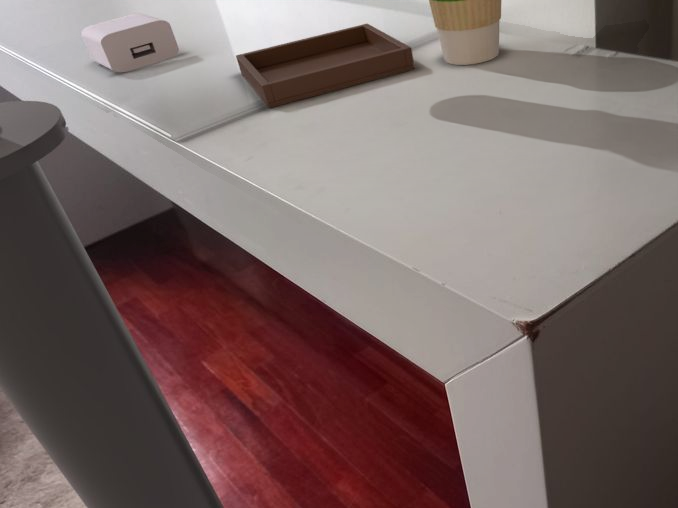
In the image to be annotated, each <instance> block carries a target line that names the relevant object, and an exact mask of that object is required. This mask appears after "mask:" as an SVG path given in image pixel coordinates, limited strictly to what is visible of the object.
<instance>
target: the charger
mask: <svg viewBox="0 0 678 508" xmlns="http://www.w3.org/2000/svg"><path fill="white" fill-rule="evenodd" d="M80 34H81V35H80V36H81V38H82V40H83V42H84V44H85V47H86V49H87V52H88V53H89V56H90V58H91V60H92V61H94V62H95V63H97V64H99V65H101V66H103V67H105V68H107V69H109V70H112V71H113V72H114V73H127V72H130V71H134V70H136V69H137V70H138V69H141V68H143V67H147V66H151V65H153V64H156V63H157V64H158V63H160V62H163V61H166V60H170V59H172V58H174V57H175V56H177V55H178V54H179V52H180V48H179V45H178V42H177V40H176V37H175V34H174V31H173V28H172V25H171V23H170V22H169V21H166V20H164V19H160V18H158V17H154V16H151V15H147V14H144V13H138V12H137V13H131V14H128V15H124V16H121V17H116V18H113V19H109V20H105V21H102V22H97V23H94V24H91V25H87V26H86V27H84V28H83V29H82V30H81V33H80Z"/></svg>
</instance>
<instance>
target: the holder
mask: <svg viewBox="0 0 678 508" xmlns="http://www.w3.org/2000/svg"><path fill="white" fill-rule="evenodd" d="M235 59H236V61H237V64H238V67H239V71H240V74H241V76H242V77H243V78H244V79H245V81H246V82H247V83H248V85H249V86H250V87H251V88H252V89H253V90H254V92H255V93H256V95H258V97H259V98H260V99H261V100H262V102H263V103H264V104H265V105H266V107H268V108H269V109H271V108H275V107H278V106H279V107H280V106H282V105H286V104H290V103H294V102H298V101H301V100H305V99H309V98H312V97H316V96H320V95H323V94H327V93H332V92H335V91H339V90H342V89H345V88H349V87H352V86H357V85H360V84H364V83H367V82H372V81H375V80H378V79H383V78H387V77H390V76H394V75H398V74H402V73H405V72H408V71H413V70H415V68H416V67H415V62H414V55H413V50H412V47H411V46H409V45H408V44H406V43H404V42H402V41H400V40H398V39H397V38H395V37H393V36H391V35H389V34H387V33H385V32H384V31H382V30H380V29H378V28H377V27H374V26H373V25H371V24H369V23H364V24H359V25H355V26H351V27H347V28H343V29H338V30H335V31H330V32H327V33H323V34H319V35H318V34H317V35H314V36H309V37H305V38H302V39H298V40H294V41H289V42H285V43H281V44H277V45H273V46H269V47H265V48H261V49H257V50H252V51H248V52H245V53H240V54H236V55H235Z"/></svg>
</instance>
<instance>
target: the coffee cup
mask: <svg viewBox="0 0 678 508" xmlns="http://www.w3.org/2000/svg"><path fill="white" fill-rule="evenodd" d="M428 2H429V7H430V10H431V15H432V18H433V23H434V27H435V28H436V30H437V34H438V35H437V36H438V39H439V42H440V46H441V52H442V56H443V60H444V62H445V63H446V64H450V65H456V66H464V65H465V66H466V65H467V66H468V65H475V64H480V63H481V64H482V63H484V62H488V61H490V60H493V59H495V58H496V57H498V55H499V53H500V21H501V19H502V18H501V17H502V0H428Z"/></svg>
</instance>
